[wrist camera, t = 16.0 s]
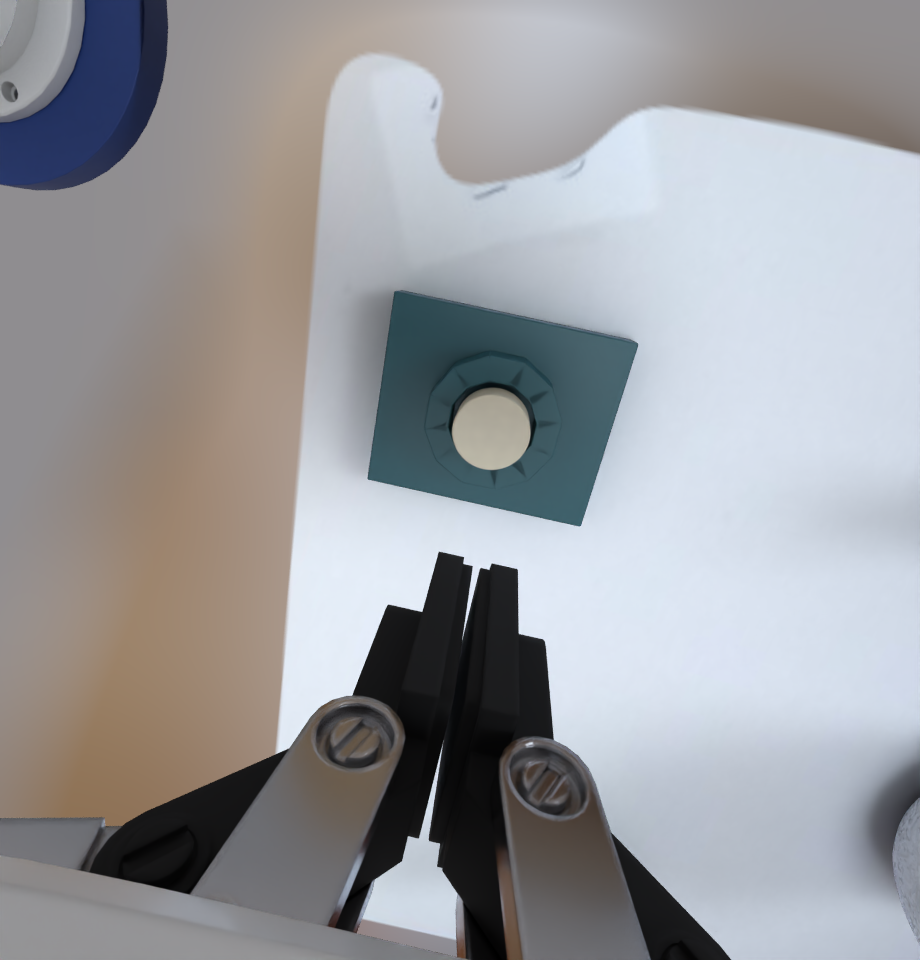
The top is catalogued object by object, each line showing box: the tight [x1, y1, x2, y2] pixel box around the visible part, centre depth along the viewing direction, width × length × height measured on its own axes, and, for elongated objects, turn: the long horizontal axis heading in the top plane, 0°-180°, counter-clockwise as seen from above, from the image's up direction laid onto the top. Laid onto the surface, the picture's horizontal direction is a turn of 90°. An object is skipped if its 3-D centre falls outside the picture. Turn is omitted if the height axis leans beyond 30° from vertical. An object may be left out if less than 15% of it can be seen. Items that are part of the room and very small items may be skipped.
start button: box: [452, 388, 530, 470], centre depth 25 cm, size 4×4×2 cm
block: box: [368, 290, 638, 526], centre depth 27 cm, size 12×10×4 cm
